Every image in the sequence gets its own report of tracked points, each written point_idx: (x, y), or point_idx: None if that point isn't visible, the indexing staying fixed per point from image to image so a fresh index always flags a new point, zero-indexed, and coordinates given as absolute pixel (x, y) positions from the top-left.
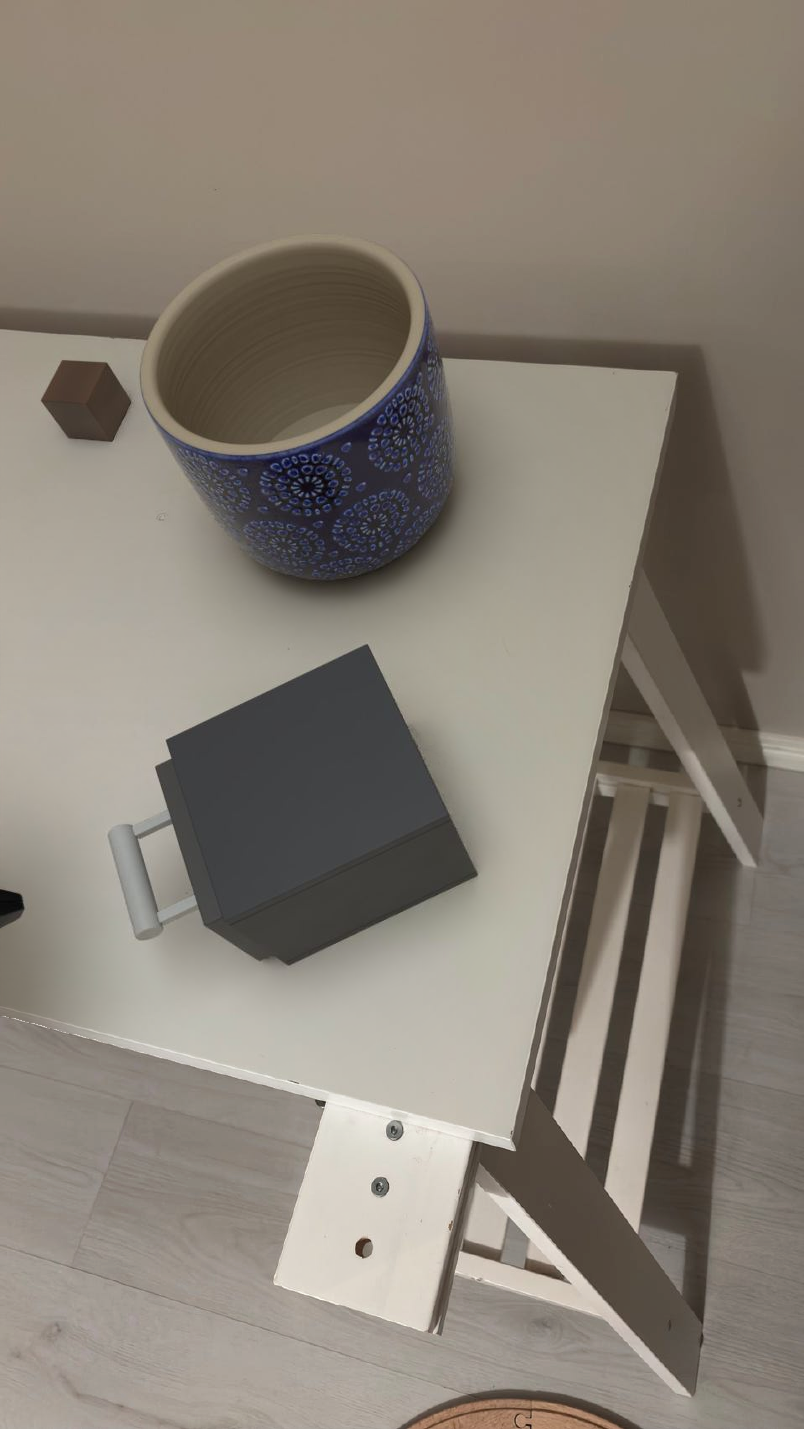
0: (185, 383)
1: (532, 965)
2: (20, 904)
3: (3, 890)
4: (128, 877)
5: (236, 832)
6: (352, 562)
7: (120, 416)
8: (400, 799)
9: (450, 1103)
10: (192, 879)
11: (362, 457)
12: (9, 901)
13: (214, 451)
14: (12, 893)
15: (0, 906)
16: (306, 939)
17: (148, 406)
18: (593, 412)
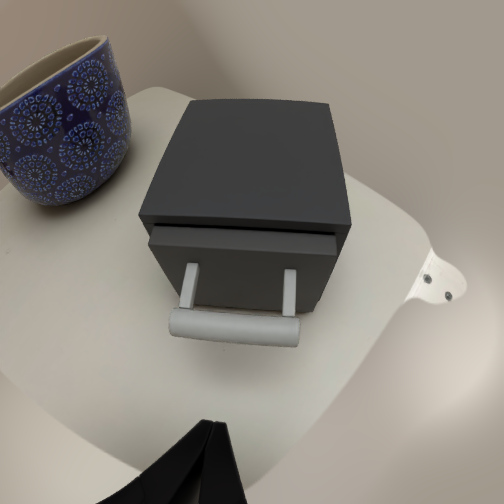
0: None
1: (368, 190)
2: (219, 423)
3: (190, 431)
4: (233, 324)
5: (271, 190)
6: (117, 145)
7: None
8: (306, 112)
9: (421, 248)
10: (286, 249)
11: (108, 64)
12: (210, 432)
13: (38, 85)
14: (199, 425)
15: (215, 442)
16: None
17: None
18: (141, 98)
